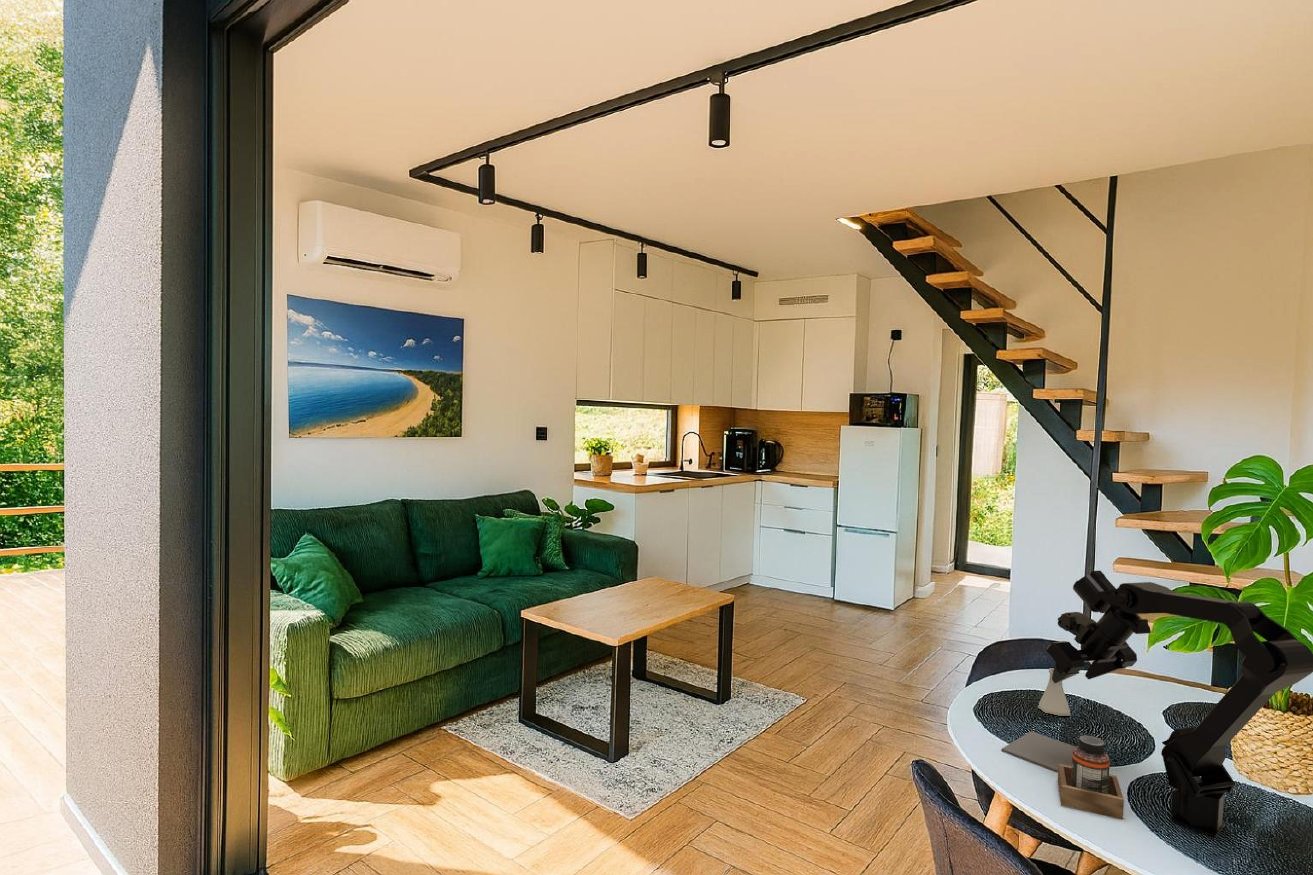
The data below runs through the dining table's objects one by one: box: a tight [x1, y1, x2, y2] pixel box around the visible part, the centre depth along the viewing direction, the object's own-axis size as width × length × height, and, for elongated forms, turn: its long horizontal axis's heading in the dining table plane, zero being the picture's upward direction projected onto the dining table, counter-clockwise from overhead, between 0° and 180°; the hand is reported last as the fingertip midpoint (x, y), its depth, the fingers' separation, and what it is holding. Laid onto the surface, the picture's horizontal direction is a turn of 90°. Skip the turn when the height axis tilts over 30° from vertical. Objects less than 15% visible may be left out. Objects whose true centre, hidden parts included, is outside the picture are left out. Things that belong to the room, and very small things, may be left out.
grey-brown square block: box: [1000, 731, 1076, 774], centre depth 153 cm, size 14×14×1 cm
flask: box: [1037, 667, 1071, 717], centre depth 175 cm, size 7×7×10 cm
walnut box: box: [1057, 764, 1125, 820], centre depth 135 cm, size 10×10×4 cm
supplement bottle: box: [1071, 734, 1111, 795], centre depth 135 cm, size 6×6×11 cm
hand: (1070, 679), depth 154 cm, fingers open, 9 cm apart
